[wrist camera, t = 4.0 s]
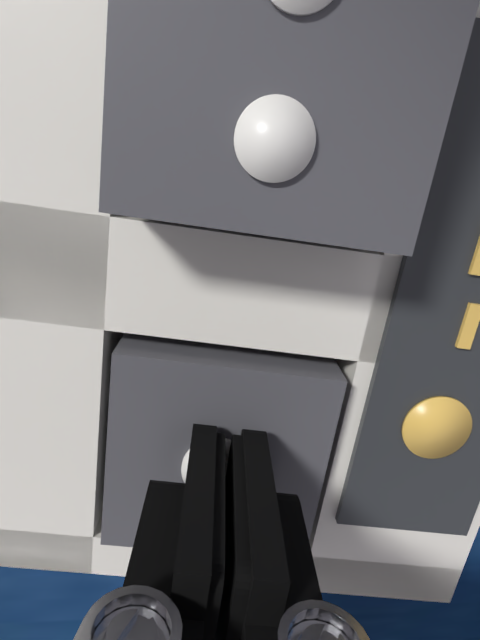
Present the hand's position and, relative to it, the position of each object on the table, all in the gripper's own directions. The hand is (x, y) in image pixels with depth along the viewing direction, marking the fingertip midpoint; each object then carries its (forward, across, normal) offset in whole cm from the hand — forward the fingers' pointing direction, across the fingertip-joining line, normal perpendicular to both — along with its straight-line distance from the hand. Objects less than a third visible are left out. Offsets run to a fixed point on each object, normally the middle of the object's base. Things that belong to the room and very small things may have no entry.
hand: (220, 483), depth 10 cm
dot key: (+3, 0, 0) cm, 3 cm away
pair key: (+2, 0, -8) cm, 8 cm away
